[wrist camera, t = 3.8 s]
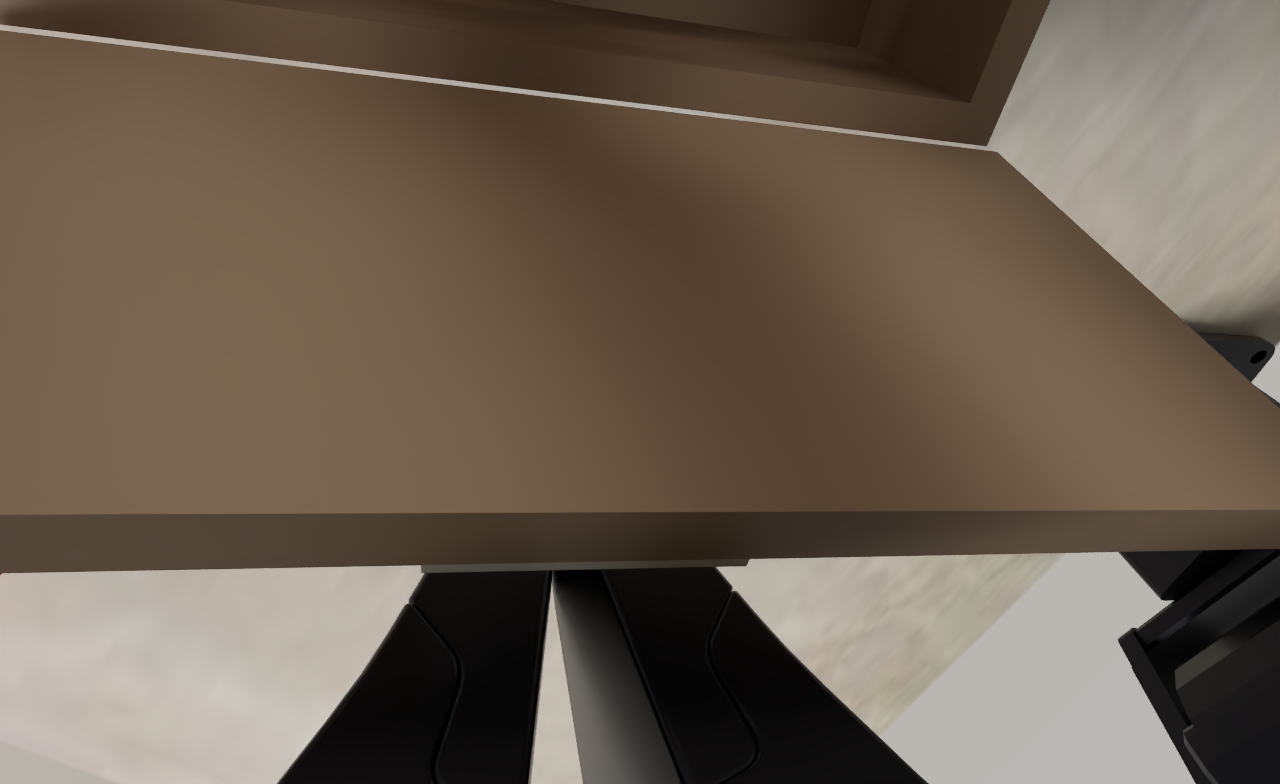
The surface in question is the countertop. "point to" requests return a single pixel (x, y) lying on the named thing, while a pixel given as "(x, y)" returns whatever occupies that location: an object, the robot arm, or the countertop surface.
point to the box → (631, 49)
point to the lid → (563, 338)
